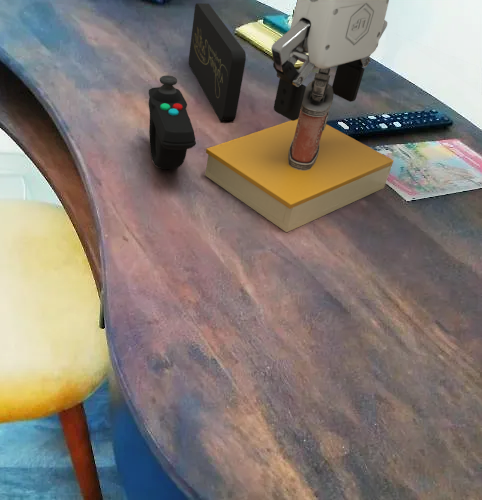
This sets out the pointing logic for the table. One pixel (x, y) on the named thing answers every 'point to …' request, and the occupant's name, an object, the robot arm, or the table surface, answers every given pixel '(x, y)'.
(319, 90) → the lighter
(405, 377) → the table surface
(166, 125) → the controller
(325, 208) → the square lidded box
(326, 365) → the table surface
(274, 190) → the cover
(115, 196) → the table surface
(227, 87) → the nameplate
